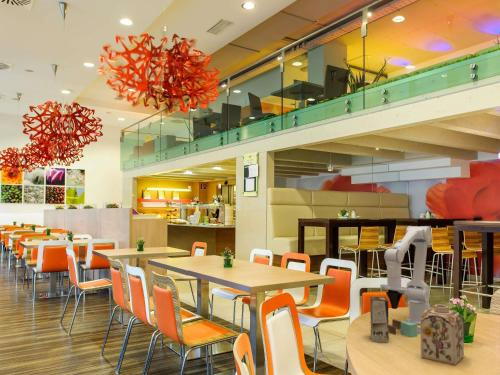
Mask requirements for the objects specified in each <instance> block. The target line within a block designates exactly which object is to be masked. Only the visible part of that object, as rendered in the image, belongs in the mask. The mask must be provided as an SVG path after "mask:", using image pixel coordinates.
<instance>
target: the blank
mask: <svg viewBox="0 0 500 375" xmlns="http://www.w3.org/2000/svg"><path fill="white" fill-rule="evenodd" d="M417 327H418V324H416V323H413V322H409V321H406V320H405V321H401V329H400V335H402V336H405V337H409V338H415V337H418V334H417Z"/></svg>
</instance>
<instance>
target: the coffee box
mask: <svg viewBox="0 0 500 375" xmlns="http://www.w3.org/2000/svg"><path fill="white" fill-rule="evenodd" d="M369 300H370V302H369V304H370V337H371V340H372V342H373V343H374V342H375V343H376V342H377V343H378V342H379V343H385V344H387V343H389V336H390V333H389V331H388V325H389V299H387V296H370V298H369Z"/></svg>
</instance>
